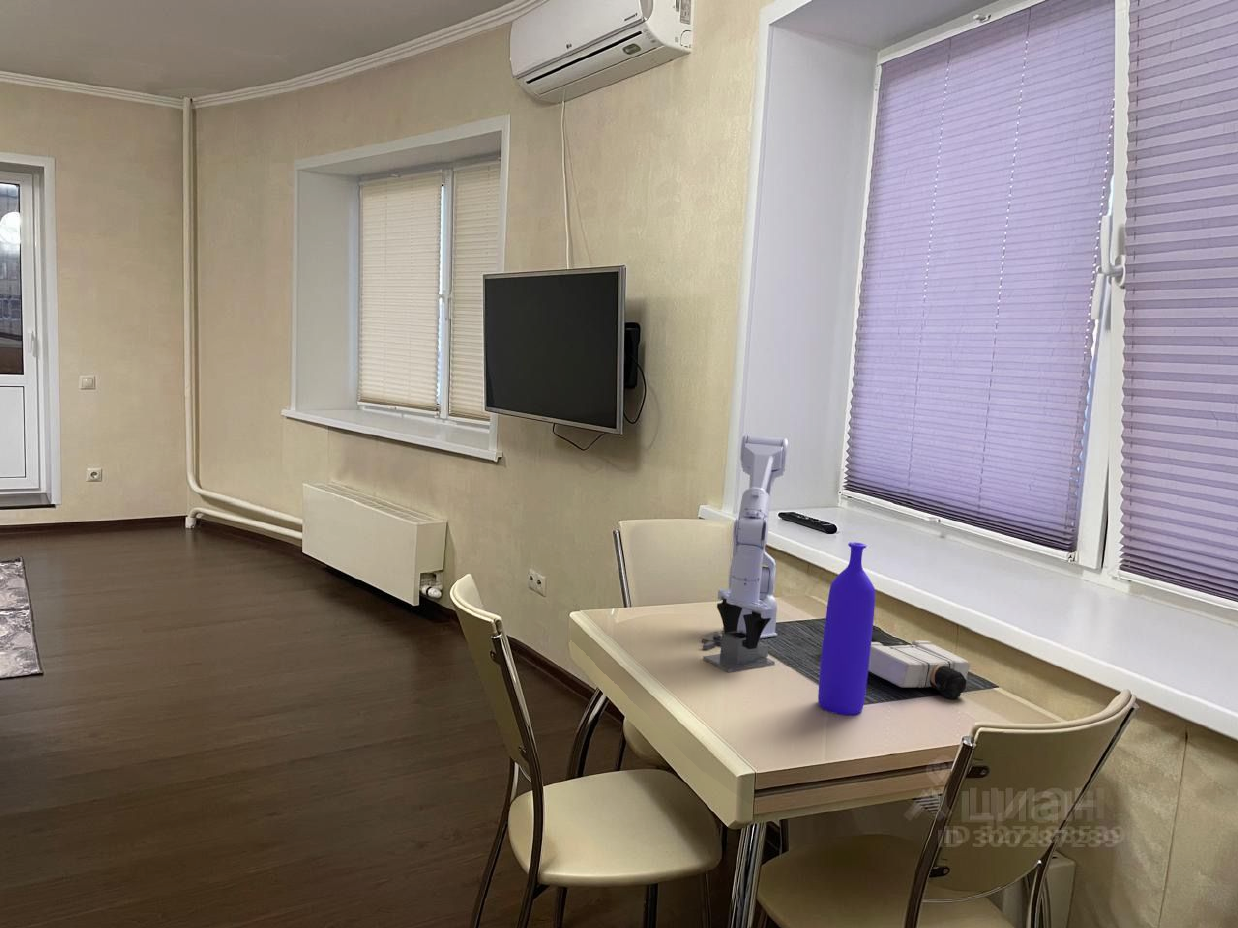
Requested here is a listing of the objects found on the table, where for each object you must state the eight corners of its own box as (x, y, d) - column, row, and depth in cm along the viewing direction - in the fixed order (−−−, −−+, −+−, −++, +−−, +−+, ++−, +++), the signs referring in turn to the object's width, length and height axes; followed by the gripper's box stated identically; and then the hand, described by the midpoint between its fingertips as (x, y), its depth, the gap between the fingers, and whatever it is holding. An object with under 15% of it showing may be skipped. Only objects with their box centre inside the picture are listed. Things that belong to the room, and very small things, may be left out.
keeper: (750, 651, 197) (752, 635, 196) (776, 664, 190) (778, 647, 190) (703, 659, 190) (704, 641, 190) (728, 672, 184) (729, 654, 183)
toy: (811, 653, 198) (922, 708, 172) (817, 621, 197) (929, 671, 171) (876, 650, 208) (990, 701, 182) (881, 619, 207) (997, 666, 181)
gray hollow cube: (739, 653, 193) (741, 630, 193) (756, 661, 189) (758, 637, 188) (720, 656, 190) (722, 632, 190) (736, 665, 186) (739, 640, 186)
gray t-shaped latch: (711, 636, 206) (711, 628, 205) (732, 641, 203) (733, 633, 203) (693, 647, 197) (694, 638, 197) (715, 652, 195) (716, 643, 195)
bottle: (865, 719, 165) (883, 551, 161) (816, 712, 166) (833, 545, 162) (862, 702, 173) (880, 541, 169) (816, 695, 174) (832, 536, 171)
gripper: (708, 569, 192) (702, 634, 193) (755, 588, 180) (748, 656, 181) (735, 567, 196) (729, 630, 197) (782, 585, 183) (776, 652, 185)
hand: (740, 643), depth 190 cm, fingers open, 6 cm apart
